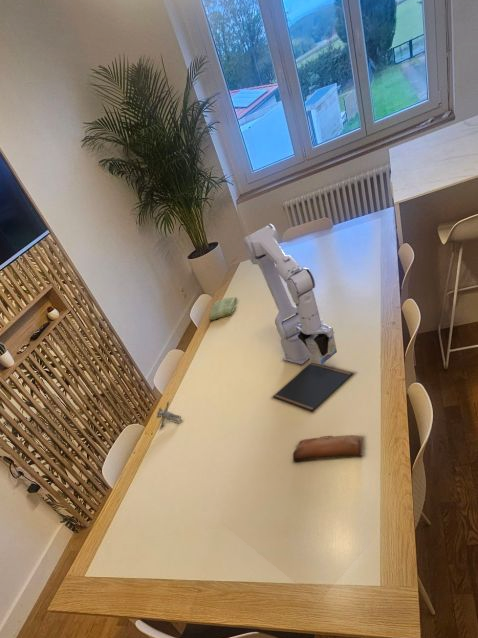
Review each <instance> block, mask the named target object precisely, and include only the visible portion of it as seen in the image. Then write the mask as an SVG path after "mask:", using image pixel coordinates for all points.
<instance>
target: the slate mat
mask: <svg viewBox="0 0 478 638" xmlns="http://www.w3.org/2000/svg"><path fill="white" fill-rule="evenodd" d="M353 374H354V373H353V372H351V371H347V370H343V369H339V368H334V367H332V366H328V365H323V364H322V365H319V364H315V363H311V362H310V363H309V364H308V365H307V366H306V367H305V368H304V369H302V370H301V371H300V372H299V373H298V374H297V375H296V376H294V377H293V378H292V379H291V380H290V381H289V382H288V383H286V384H285V385H284V386H283V387H282V388H281V389H280V390H278V391H277V393H275V394H274V395H273V396H272V398H274V399H276V400H279V401H281V402H284V403H287V404H289V405H293V406H294V407H298V408H301V409H302V410H303V409H304V410H306V411H308V412H312V413H313V412H314V411H315V410H317V409H318V407H319V406H321V405H322V404H323V403H324V402H325V401H326V400H327V399H328V398H330V396H332V394H334V392H336V391H337V390H338V389H339V388H340V387H341V386H342V385H343V384H345V383H346V381H347V380H348V379H349V378H351V377H352V376H353Z"/></svg>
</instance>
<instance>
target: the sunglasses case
mask: <svg viewBox="0 0 478 638" xmlns="http://www.w3.org/2000/svg"><path fill="white" fill-rule="evenodd" d="M362 454H363V437H362V436H361V435H356V434H355V435H354V434H353V435H335V436H334V435H324V436H320V437H313V438H307V439H302V440H300V441H299V442H298V447H296V449H295V450H294V451H293V454H292V456H293V461H294V462H301V461H309V460H316V459H327V458H328V459H329V458H341V457H355V456H356V457H357V456H363V455H362Z"/></svg>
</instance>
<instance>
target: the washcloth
mask: <svg viewBox="0 0 478 638" xmlns="http://www.w3.org/2000/svg"><path fill="white" fill-rule="evenodd" d="M237 299H238V298H237V296H231V297H225V298H223V299H221V300H216V301H214V302H213V303H212V307H211V310H210V312H209V320H210V321H215V320H218V319H221V318H224V317H229V316H232V315H233V314H234V312H235V308H236V302H237Z"/></svg>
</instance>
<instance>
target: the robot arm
mask: <svg viewBox="0 0 478 638" xmlns="http://www.w3.org/2000/svg"><path fill="white" fill-rule="evenodd" d="M243 246H244V250H245V251H246V254H247V256H248V258H249V261H250V262H251V264H252V265H257V267H258V268H259V269H260V271H261V273H262V276H263V278H264V281H265V283H266V285H267V288H268V290H269V292H270V294H271V297H272V298H273V301H274V304H275V306H276V309H277V310H278V312H277V314H276V316H275V319H274V324H275V328H276V330H277V334H278V337H280V345H281V349H282V351H283V354H284V358H283V360H284V361H286V362H287V361H288V362H291V363H295V364H299V365H304V363H305V362H307V361H308V360H310V356H309V352H308V348H307V344H306V339H307V338H308V337H310V336H311V335H312V334H318V335H317V336H316V337H315V338H314V341H315V342H316V343H317V345H318V347H319V349H320V352H321V354H322V355H323V356H324V355H325V354H326V353H328V341H329V337H331V336H332V335H333V334H335V331H334V327H331V326H328V325H327V324H326V323H324V320H323V319H321V316H320V313H319V307H318V305H317V300H316V297H315V292H314V289H315V288H316V281H315V277H314V276H313V273H312V271H311V270H310V269H309V268H308V267H304V266H302V267H301V266H300V264H299V263H298V262H297V261H296V259H295V258H294V257H293V256H292V255H289V254H287V255H286V254H285V252H284V250H283V248H282V247H281V246H280V237H279V232H278V231H277V228H276V227H275V226H274V225H273V224H272V223H269V224H267V225H266V226H264V227H262V228H260V229H259V230H256V231H254V232H253V233H251V234H249V235H247V236H244V238H243ZM283 281H284V283H285V284H286V287H287V290H288V292H289V294H290V297H291V299H292V302H293V303H294V305H292V302H291V299H290V298H289V296H288V293H287V290H286V287H285V286H284V283H283Z"/></svg>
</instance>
